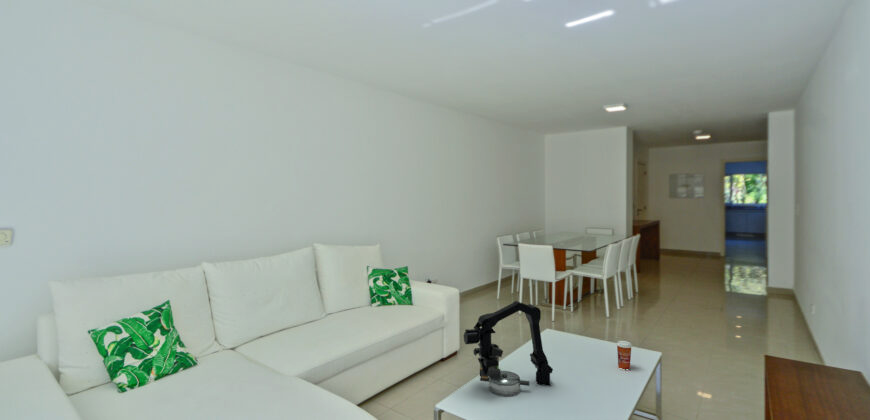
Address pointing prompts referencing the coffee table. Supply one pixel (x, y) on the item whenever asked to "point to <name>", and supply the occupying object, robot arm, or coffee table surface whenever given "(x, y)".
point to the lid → (501, 376)
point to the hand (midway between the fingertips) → (485, 374)
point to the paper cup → (624, 354)
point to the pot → (504, 387)
